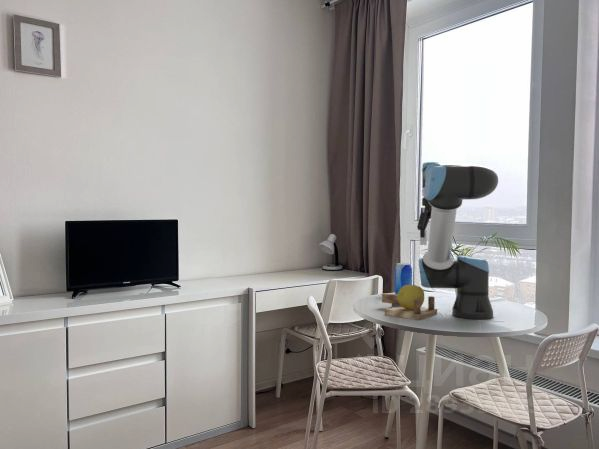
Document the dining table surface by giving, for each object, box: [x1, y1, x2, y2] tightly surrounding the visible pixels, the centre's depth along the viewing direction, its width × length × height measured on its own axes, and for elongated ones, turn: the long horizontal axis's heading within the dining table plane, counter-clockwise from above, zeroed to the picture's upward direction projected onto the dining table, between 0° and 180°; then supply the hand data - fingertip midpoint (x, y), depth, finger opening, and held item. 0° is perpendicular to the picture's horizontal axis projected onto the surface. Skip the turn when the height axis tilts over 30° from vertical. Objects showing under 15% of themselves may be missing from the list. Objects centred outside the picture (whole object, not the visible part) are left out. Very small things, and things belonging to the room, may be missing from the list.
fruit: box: [397, 284, 425, 310], centre depth 185 cm, size 10×11×10 cm
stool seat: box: [384, 295, 438, 321], centre depth 185 cm, size 15×15×7 cm
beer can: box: [394, 262, 413, 295], centre depth 229 cm, size 8×8×16 cm
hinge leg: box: [381, 292, 400, 305], centre depth 196 cm, size 11×2×5 cm, turn 50°
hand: (430, 244), depth 208 cm, fingers open, 13 cm apart
